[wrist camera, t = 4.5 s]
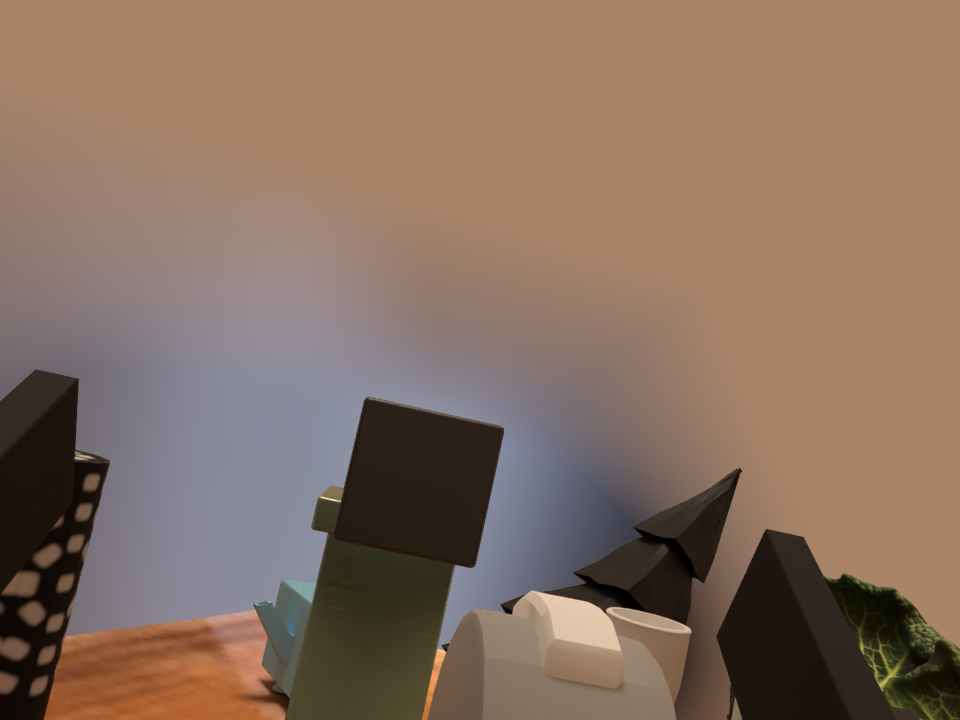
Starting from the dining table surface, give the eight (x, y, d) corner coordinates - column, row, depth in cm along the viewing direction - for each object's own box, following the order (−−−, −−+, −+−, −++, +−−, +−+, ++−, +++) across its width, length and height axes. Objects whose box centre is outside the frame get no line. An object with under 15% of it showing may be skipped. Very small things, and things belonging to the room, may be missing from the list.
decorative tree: (595, 871, 67) (839, 538, 79) (485, 752, 62) (762, 417, 74) (500, 785, 80) (722, 510, 92) (403, 681, 75) (650, 406, 87)
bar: (475, 569, 18) (505, 426, 18) (332, 539, 18) (365, 395, 18) (430, 490, 40) (444, 426, 40) (365, 477, 40) (380, 411, 40)
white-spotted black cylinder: (-40, 720, 62) (34, 439, 63) (60, 754, 60) (134, 464, 62) (-147, 755, 54) (-58, 433, 55) (-34, 796, 52) (54, 461, 54)
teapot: (213, 669, 85) (241, 552, 86) (381, 679, 93) (404, 573, 94) (257, 733, 71) (290, 594, 72) (449, 739, 80) (476, 614, 81)
